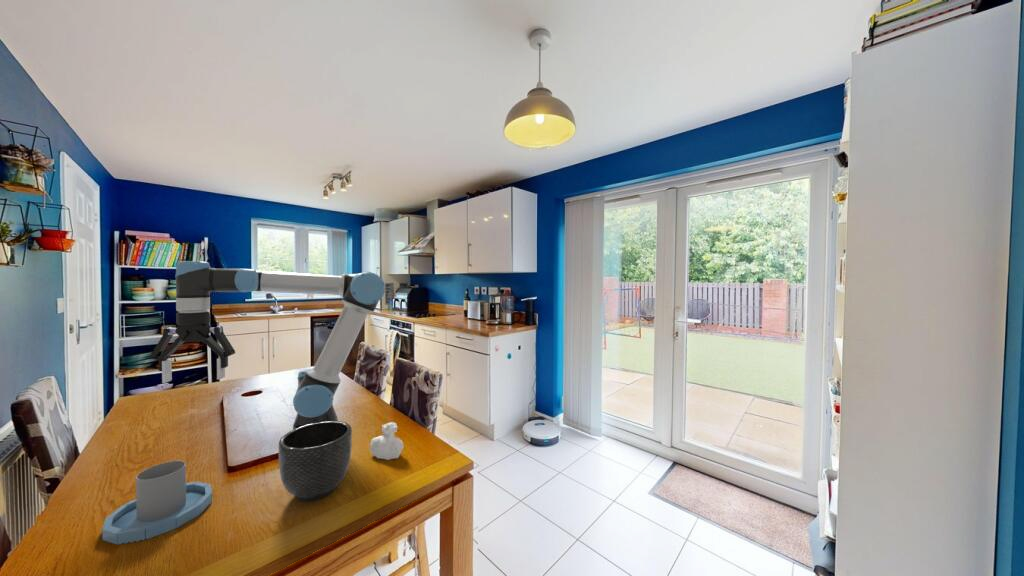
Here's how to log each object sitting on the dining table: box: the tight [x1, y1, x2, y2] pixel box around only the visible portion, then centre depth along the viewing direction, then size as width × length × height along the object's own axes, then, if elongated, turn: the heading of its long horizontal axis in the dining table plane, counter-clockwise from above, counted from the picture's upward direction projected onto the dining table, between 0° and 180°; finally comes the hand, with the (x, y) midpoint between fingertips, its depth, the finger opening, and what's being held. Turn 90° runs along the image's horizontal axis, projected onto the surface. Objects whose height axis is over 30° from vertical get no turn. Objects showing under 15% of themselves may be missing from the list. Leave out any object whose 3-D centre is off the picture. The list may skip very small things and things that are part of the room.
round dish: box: [101, 481, 213, 545], centre depth 81 cm, size 18×18×2 cm
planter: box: [278, 420, 353, 503], centre depth 90 cm, size 17×17×16 cm
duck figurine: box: [369, 421, 404, 461], centre depth 110 cm, size 12×8×11 cm
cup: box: [135, 460, 187, 522], centre depth 81 cm, size 8×8×10 cm
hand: (194, 380), depth 102 cm, fingers open, 13 cm apart
